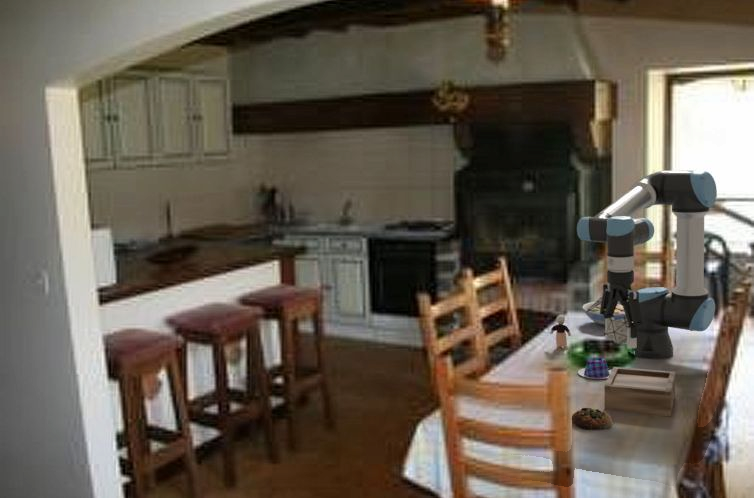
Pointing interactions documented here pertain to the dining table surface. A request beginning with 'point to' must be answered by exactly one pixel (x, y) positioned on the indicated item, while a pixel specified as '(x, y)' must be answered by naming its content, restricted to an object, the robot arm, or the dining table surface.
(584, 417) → the bread roll
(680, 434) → the dining table surface
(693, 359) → the dining table surface
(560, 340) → the grandmother figurine
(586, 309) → the ramen bowl
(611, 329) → the game die
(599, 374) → the pudding
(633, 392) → the walnut box
